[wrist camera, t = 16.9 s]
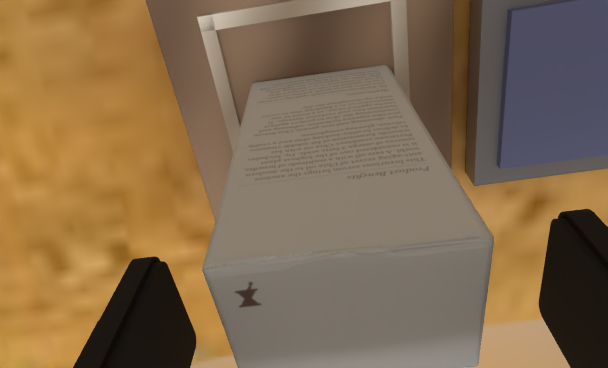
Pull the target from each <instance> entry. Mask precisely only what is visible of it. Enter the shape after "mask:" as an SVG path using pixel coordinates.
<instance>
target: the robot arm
mask: <svg viewBox="0 0 608 368" xmlns="http://www.w3.org/2000/svg"><path fill="white" fill-rule="evenodd" d="M539 309H540V312H541V315H542V317H543V319H544V321H545V323H546V325H547V326H548V328H549V330H550V332H551V333H552V335H553V337H554V339H555V341H556V342H557V344H558V346H559V348H560V349H561V351H562V353H563V355H564V356H565V358H566V360H567V362H568V364H569V365H570V367H571V368H608V227H607V226H606V225H605V224H604V223H603V222H602V221H601V220H600V219H599V217H598V216H597V215H596V214H595V213H594V212H593V211H591V210H589V209H583V210H574V211H565V212H561V213H560V214H559V216H558V219H553V220H552V222H551V226H550V232H549V239H548V245H547V252H546V258H545V265H544V271H543V278H542V284H541V291H540V297H539ZM195 348H196V334H195V331H194V329H193V326H192V324H191V321H190V319H189V317H188V314H187V312H186V309H185V307H184V304H183V302H182V299H181V297H180V295H179V292H178V290H177V287H176V285H175V282H174V280H173V277H172V275H171V273H170V270H169V268H168V265H167V264H166V262H161V261H160V260H159V258H157V257H147V258H138V259H133V260H132V261H131V262H130V264H129V266H128V268H127V270H126V272H125V273H124V275H123V277H122V279H121V281H120V283H119V285H118V286H117V288H116V290H115V292H114V294H113V296H112V298H111V299H110V301H109V303H108V305H107V307H106V309H105V311H104V313H103V314H102V316H101V318H100V320H99V321H98V322H97V324H96V326H95V328H94V330H93V332H92V333H91V335H90V337H89V339H88V341H87V343H86V345H85V346H84V348H83V350H82V352H81V354H80V356H79V358H78V359H77V361H76V363H75V365H74V367H73V368H190V366H191V362H192V359H193V355H194V351H195Z"/></svg>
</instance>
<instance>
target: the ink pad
mask: <svg viewBox="0 0 608 368" xmlns="http://www.w3.org/2000/svg"><path fill="white" fill-rule="evenodd" d="M606 168H608V0H471V5H470V36H469V68H468V99H467V131H466V162H465V172H466V174H467V175H468V177H469V179H470V180H471V182H472V183H473V185H474V186H478V185H485V184H493V183H500V182H508V181H515V180H523V179H530V178H538V177H545V176H553V175H560V174H568V173H576V172H583V171H591V170H598V169H606Z"/></svg>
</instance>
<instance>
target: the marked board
mask: <svg viewBox="0 0 608 368" xmlns="http://www.w3.org/2000/svg"><path fill="white" fill-rule="evenodd" d="M146 3H147V6H148V9H149V13H150V16H151V19H152V22H153V25H154V28H155V32H156V35H157V38H158V41H159V44H160V47H161V50H162V54H163V57H164V60H165V63H166V66H167V69H168V73H169V76H170V79H171V82H172V85H173V88H174V92H175V95H176V98H177V101H178V104H179V107H180V110H181V114H182V117H183V120H184V123H185V126H186V129H187V133H188V136H189V139H190V142H191V145H192V148H193V151H194V155H195V158H196V161H197V164H198V167H199V170H200V174H201V177H202V180H203V183H204V186H205V189H206V193H207V196H208V199H209V202H210V205H211V208H212V211H213V215H214V218H215V221H216V218H217V214H218V209H219V206H220V202H221V198H222V194H223V190H224V186H225V183H226V179H227V175H228V171H229V168H230V164H231V160H232V156H233V152H234V148H235V144H236V141H237V137H238V133H239V130H240V126H241V123H242V119H243V115H244V111H245V107H246V103H247V100H248V96H249V92H250V88H251V85H252V84H253V83H256V82H264V81H271V80H279V79H286V78H293V77H300V76H307V75H315V74H321V73H329V72H336V71H343V70H351V69H358V68H366V67H373V66H380V65H387V66H388V67H389V68H390V70H391V71H392V73H393V75H394V76H395V78H396V80H397V81H398V83H399V84H400V86H401V88H402V89H403V91H404V93H405V94H406V96H407V98H408V99H409V101H410V103H411V104H412V106H413V108H414V109H415V111H416V113H417V115H418V116H419V118H420V120H421V121H422V123H423V124H424V126H425V128H426V129H427V131H428V132H429V134H430V136H431V138H432V139H433V141H434V142H435V144H436V146H437V147H438V149H439V151H440V152H441V154H442V156H443V157H444V159H445V161H446V162H447V164H448V165H449V167H450V168H451V144H452V69H453V0H146Z"/></svg>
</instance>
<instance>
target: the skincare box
mask: <svg viewBox="0 0 608 368" xmlns="http://www.w3.org/2000/svg"><path fill="white" fill-rule="evenodd" d="M493 243H494V237H493V235H492V233H491V232H490V230H489V229H488V227H487V226H486V224H485V223H484V221H483V219H482V218H481V216H480V215H479V213H478V212H477V210H476V209H475V207H474V205H473V204H472V202H471V201H470V199H469V197H468V196H467V194H466V193H465V191H464V190H463V188H462V186H461V185H460V183H459V181H458V180H457V178H456V177H455V175H454V174H453V172H452V170H451V168H450V167H449V165H448V164H447V162H446V161H445V159H444V157H443V156H442V154H441V152H440V151H439V149H438V147H437V146H436V144H435V142H434V141H433V139H432V138H431V136H430V134H429V132H428V131H427V129H426V128H425V126H424V124H423V123H422V121H421V120H420V118H419V116H418V115H417V113H416V111H415V109H414V108H413V106H412V104H411V103H410V101H409V99H408V98H407V96H406V94H405V93H404V91H403V89H402V88H401V86H400V84H399V83H398V81H397V80H396V78H395V76H394V75H393V73H392V71H391V70H390V68H389V67H388V66H387V65H380V66H373V67H366V68H358V69H351V70H343V71H336V72H329V73H321V74H315V75H307V76H300V77H293V78H286V79H279V80H271V81H264V82H256V83H253V84H252V85H251V88H250V92H249V96H248V100H247V103H246V107H245V111H244V115H243V119H242V123H241V126H240V130H239V133H238V137H237V141H236V144H235V148H234V152H233V156H232V160H231V164H230V168H229V171H228V175H227V179H226V183H225V186H224V190H223V194H222V198H221V202H220V206H219V209H218V214H217V218H216V222H215V226H214V229H213V232H212V236H211V239H210V243H209V247H208V250H207V254H206V257H205V261H204V264H203V269H202V270H203V273H204V276H205V279H206V281H207V284H208V286H209V289H210V292H211V294H212V297H213V300H214V302H215V305H216V308H217V310H218V313H219V316H220V319H221V321H222V324H223V327H224V329H225V332H226V335H227V338H228V340H229V343H230V346H231V349H232V351H233V354H234V357H235V360H236V363H237V366H238V368H462V367H463V368H464V367H475V366H477V365H478V363H479V353H480V345H481V338H482V330H483V323H484V315H485V307H486V300H487V292H488V284H489V276H490V268H491V260H492V252H493Z"/></svg>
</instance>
